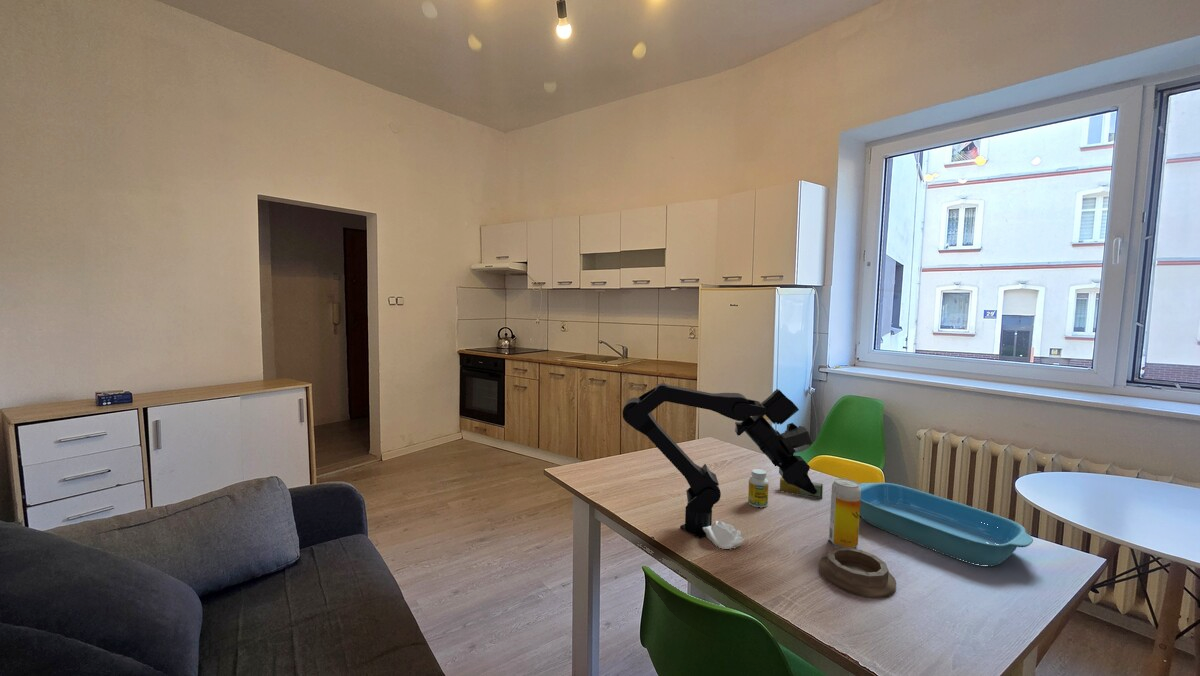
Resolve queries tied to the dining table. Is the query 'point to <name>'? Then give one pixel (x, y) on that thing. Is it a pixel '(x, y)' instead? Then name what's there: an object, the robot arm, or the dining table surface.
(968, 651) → the dining table surface
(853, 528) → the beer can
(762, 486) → the supplement bottle
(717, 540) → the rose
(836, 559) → the can holder
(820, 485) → the medication box
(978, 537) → the casserole dish
